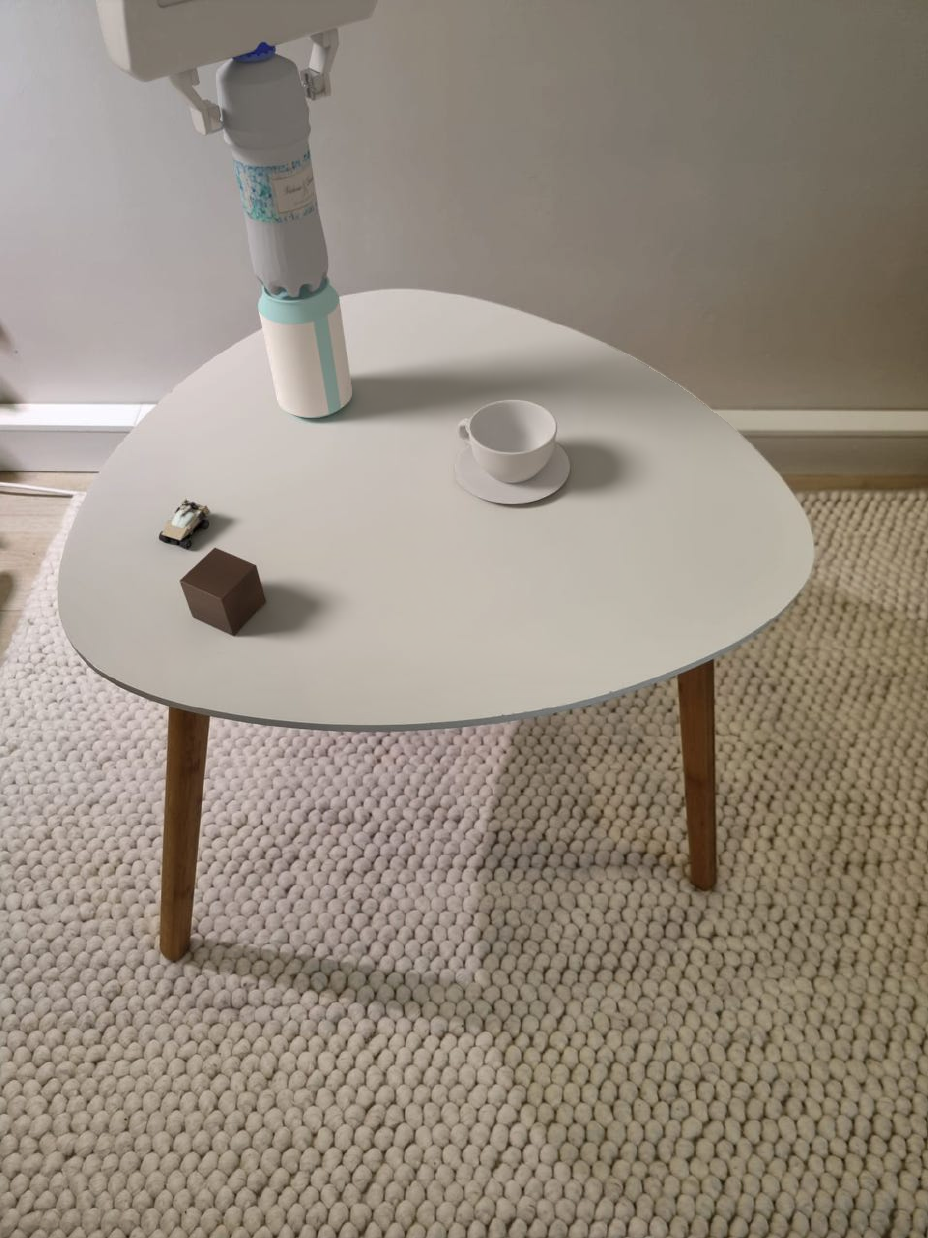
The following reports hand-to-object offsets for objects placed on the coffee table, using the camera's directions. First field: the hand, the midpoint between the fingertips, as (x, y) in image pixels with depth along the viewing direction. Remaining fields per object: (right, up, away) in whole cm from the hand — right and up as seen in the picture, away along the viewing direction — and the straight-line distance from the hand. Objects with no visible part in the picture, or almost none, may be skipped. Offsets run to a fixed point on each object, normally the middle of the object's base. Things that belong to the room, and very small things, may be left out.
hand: (265, 113), depth 71 cm
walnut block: (-3, -37, +2) cm, 37 cm away
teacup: (+19, -25, +12) cm, 33 cm away
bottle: (0, -9, +10) cm, 14 cm away
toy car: (-8, -30, +8) cm, 32 cm away
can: (+1, -17, +19) cm, 26 cm away
